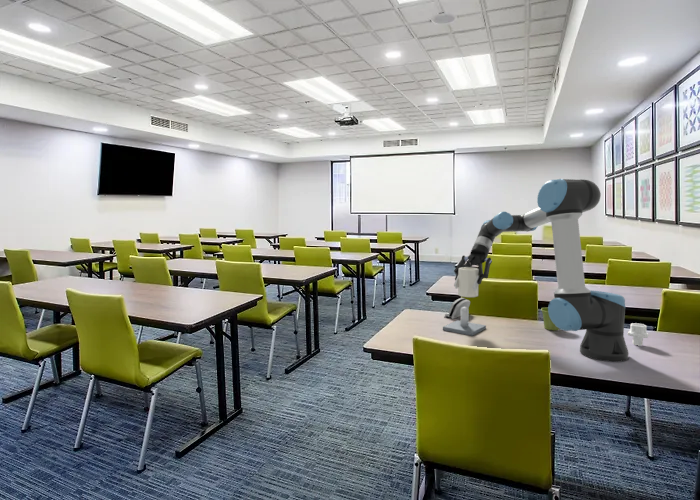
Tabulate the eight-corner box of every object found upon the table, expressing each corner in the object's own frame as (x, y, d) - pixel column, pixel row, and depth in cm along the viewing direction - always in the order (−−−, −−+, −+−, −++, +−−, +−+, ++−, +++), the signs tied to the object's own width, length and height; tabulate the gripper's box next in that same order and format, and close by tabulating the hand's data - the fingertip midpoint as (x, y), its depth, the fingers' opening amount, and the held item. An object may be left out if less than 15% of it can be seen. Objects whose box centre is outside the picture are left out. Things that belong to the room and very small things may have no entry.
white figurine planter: (626, 345, 161) (627, 325, 161) (628, 341, 167) (629, 321, 166) (646, 348, 157) (647, 328, 157) (648, 344, 163) (649, 324, 162)
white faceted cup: (480, 294, 185) (481, 268, 184) (472, 298, 179) (473, 270, 178) (463, 292, 190) (464, 266, 189) (455, 295, 184) (456, 268, 183)
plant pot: (568, 330, 182) (569, 311, 181) (550, 332, 180) (551, 313, 179) (553, 325, 191) (554, 306, 190) (535, 326, 189) (536, 308, 188)
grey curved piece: (458, 311, 220) (464, 294, 217) (466, 315, 217) (472, 298, 214) (443, 317, 207) (450, 299, 204) (451, 322, 204) (458, 304, 201)
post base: (485, 328, 187) (486, 306, 186) (472, 335, 176) (472, 312, 175) (457, 323, 196) (457, 302, 195) (442, 329, 185) (442, 307, 184)
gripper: (505, 255, 187) (489, 296, 177) (462, 252, 201) (446, 289, 191) (501, 244, 183) (485, 285, 173) (458, 242, 197) (440, 280, 186)
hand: (464, 287), depth 182 cm, fingers closed on white faceted cup, 8 cm apart
